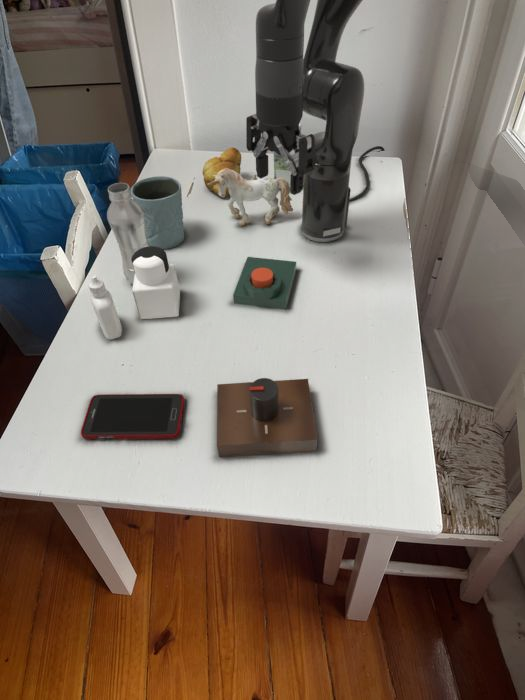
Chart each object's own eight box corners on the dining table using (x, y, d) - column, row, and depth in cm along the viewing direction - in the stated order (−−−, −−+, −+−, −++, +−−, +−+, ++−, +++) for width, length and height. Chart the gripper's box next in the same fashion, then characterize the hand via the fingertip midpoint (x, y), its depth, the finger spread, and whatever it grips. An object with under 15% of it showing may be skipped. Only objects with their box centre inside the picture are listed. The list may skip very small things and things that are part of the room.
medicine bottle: (143, 295, 94) (129, 243, 85) (180, 292, 94) (169, 240, 85) (140, 320, 89) (124, 267, 80) (179, 317, 89) (168, 264, 81)
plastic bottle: (153, 292, 94) (130, 199, 80) (121, 288, 96) (92, 195, 81) (164, 271, 99) (144, 180, 84) (133, 268, 100) (108, 177, 85)
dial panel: (307, 390, 77) (308, 377, 75) (316, 450, 69) (317, 438, 67) (219, 396, 77) (217, 383, 74) (218, 457, 69) (216, 445, 67)
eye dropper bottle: (128, 319, 89) (112, 267, 81) (119, 341, 86) (100, 288, 77) (105, 318, 90) (86, 266, 81) (95, 339, 86) (74, 287, 77)
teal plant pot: (134, 245, 105) (120, 195, 97) (157, 221, 112) (147, 172, 103) (174, 255, 103) (165, 204, 94) (196, 229, 109) (189, 179, 100)
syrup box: (300, 180, 123) (302, 121, 112) (296, 191, 119) (297, 132, 108) (278, 178, 124) (278, 120, 113) (273, 189, 120) (272, 130, 109)
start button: (254, 273, 92) (253, 266, 90) (275, 276, 91) (274, 268, 90) (249, 287, 89) (249, 279, 88) (270, 289, 88) (270, 282, 87)
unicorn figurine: (204, 224, 110) (196, 168, 100) (281, 204, 115) (281, 149, 105) (214, 241, 106) (207, 184, 96) (294, 219, 111) (296, 163, 101)
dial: (277, 398, 72) (277, 375, 68) (279, 420, 69) (279, 398, 66) (250, 400, 72) (248, 377, 68) (251, 422, 69) (250, 400, 65)
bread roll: (239, 200, 117) (237, 168, 111) (199, 200, 118) (195, 169, 112) (243, 174, 126) (241, 144, 120) (206, 174, 126) (202, 144, 120)
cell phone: (179, 439, 71) (178, 435, 70) (80, 439, 72) (78, 436, 71) (185, 397, 76) (184, 393, 76) (93, 398, 77) (91, 394, 76)
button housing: (248, 265, 99) (247, 249, 96) (296, 270, 98) (296, 254, 95) (233, 305, 91) (231, 288, 88) (285, 311, 90) (285, 295, 87)
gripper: (330, 92, 73) (322, 191, 85) (265, 70, 81) (266, 164, 92) (295, 105, 70) (292, 206, 82) (231, 82, 77) (237, 178, 89)
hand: (278, 184), depth 87 cm, fingers open, 8 cm apart
